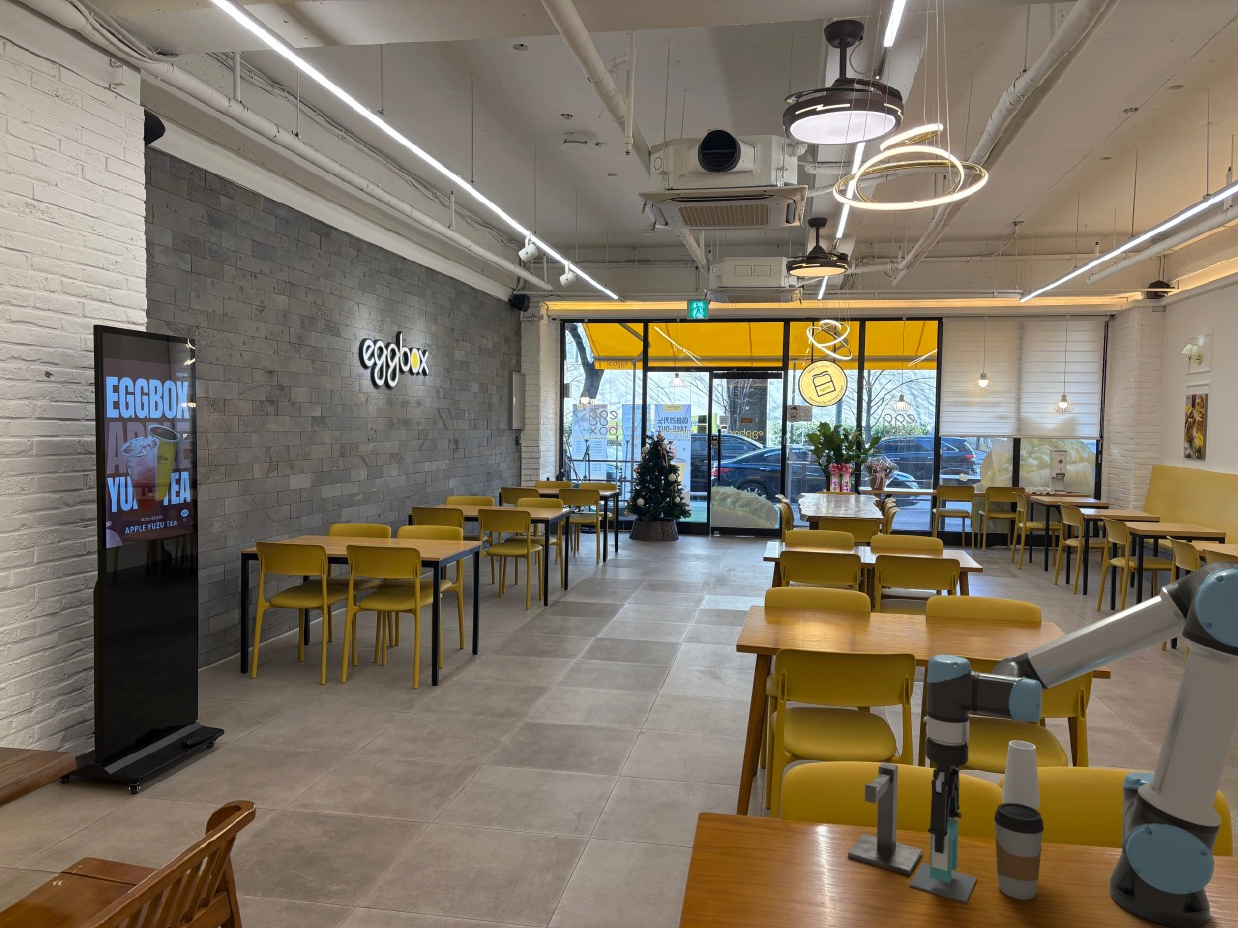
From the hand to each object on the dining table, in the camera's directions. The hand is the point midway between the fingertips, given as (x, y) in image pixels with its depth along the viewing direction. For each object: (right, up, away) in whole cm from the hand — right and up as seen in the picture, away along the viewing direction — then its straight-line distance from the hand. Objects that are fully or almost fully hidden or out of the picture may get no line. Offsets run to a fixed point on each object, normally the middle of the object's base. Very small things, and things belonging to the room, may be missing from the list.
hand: (944, 858), depth 153 cm
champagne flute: (+18, -5, +7) cm, 20 cm away
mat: (0, -5, 0) cm, 5 cm away
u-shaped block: (0, -3, 0) cm, 3 cm away
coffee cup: (+13, -5, -2) cm, 14 cm away
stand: (-10, -4, +7) cm, 13 cm away
